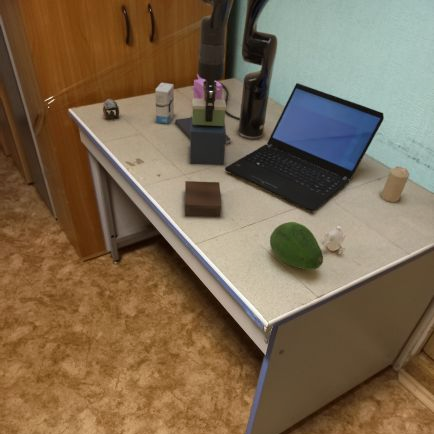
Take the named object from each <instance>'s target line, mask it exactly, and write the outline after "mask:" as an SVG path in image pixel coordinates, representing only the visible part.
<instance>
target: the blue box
mask: <svg viewBox="0 0 434 434" xmlns="http://www.w3.org/2000/svg"><path fill="white" fill-rule="evenodd" d="M190 117H191V129H190V139H189V164H190V165H191V164H192V165H218V166H219V165H220V166H223V165H224V161H225V151H226V144H225V139H226V135H227V131H226V122H225V121H224V126H212V125H193V124H192V116H190Z"/></svg>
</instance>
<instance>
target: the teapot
mask: <svg viewBox="0 0 434 434" xmlns="http://www.w3.org/2000/svg"><path fill="white" fill-rule="evenodd" d="M196 76H197V79H194V80H193V86H192V87H191V89H192V91H193V98H198V99H204V88H203V81H205V79H202V78H200V77H199V76H198V73H197V74H196ZM217 81H218V80H217ZM217 81H215V82H216V85H217V91H216V99H219V100H223V99H222V98H223V86H222V85H221V84H220V83H221V82H220V81H218V82H217ZM219 82H220V83H219Z"/></svg>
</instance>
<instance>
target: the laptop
mask: <svg viewBox="0 0 434 434" xmlns="http://www.w3.org/2000/svg"><path fill="white" fill-rule="evenodd" d="M384 116H385V115H384V113H383V112H381V111H378V110H376V109H373V108H370V107H368V106H366V105H365V106H364V105H362V104H359V103H356V102H353V101H351V100H347V99H344V98H341V97H338V96H335V95H332V94H331V93H326V92H324V91H321V90H318V89H316V88H313V87H309V86H306V85H304V84H301V83H298V82H296V84H294V87H293V89H292V91H291V94H290V95H289V97H288V100H287V101H286V103H285V105H284V107H283V110H282V111H281V114H280V116H279V118H278V120H277V122H276V124H275V126H274V129H273V130H272V132H271V134H270V137H269V138H268V141H267V143H266V144H263V145H262V146H260V147H259V148H257V149H255V150H253V151H252V152H250V153H248V154H246V155H245V156H243V157H241V158H239V159H238V160H236V161H234V162H232V163H231V164H228V165H227V166H225V167H224V171H225V172H228V173H229V174H232V175H233V176H235V177H238V178H240V179H243V180H245V181H247V182H249V183H251V184H253V185H254V186H257V187H259V188H261V189H262V190H265V191H267V192H269V193H271V194H273V195H275V196H277V197H279V198H281V199H283V200H285V201H287V202H289V203H291V204H294V205H295V206H298V207H300V208H301V209H304V210H305V211H307V212H311V213H314V212H315V211H317V210H318V209H319V208H320V207H321V206H323V205H324V203H326V202H327V201H328V200H330V199H331V198H332V197H333V196H334V195H336V194H337V193H338V192H339V191H341V190H342V189H343V188H344V187H345V186H346V185H348V184H349V182H350V181H351V180H352V179H353V176H354V174H355V173H356V171H357V170H358V167H359V166H360V164H361V161H362V160H363V158H364V156H365V154H366V153H367V151H368V149H369V147H370V146H371V143H372V142H373V140H374V138H375V136H376V135H377V132H378V131H379V129H380V127H381V125H382V123H383V121H384V119H385V118H384Z"/></svg>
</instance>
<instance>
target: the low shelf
mask: <svg viewBox="0 0 434 434" xmlns="http://www.w3.org/2000/svg"><path fill="white" fill-rule="evenodd" d="M184 182H185V183H184V184H185V185H184V186H185V187H184V191H185V192H184V217H195V218H196V217H197V218H199V217H201V218H221V215H222V195H221V185H220V182H219V181H197V180H194V181H193V180H185V181H184Z"/></svg>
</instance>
